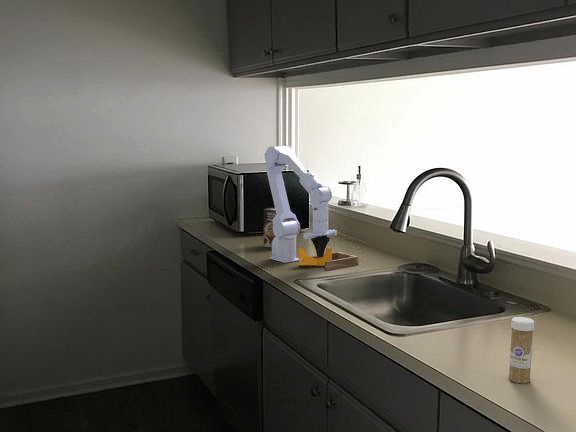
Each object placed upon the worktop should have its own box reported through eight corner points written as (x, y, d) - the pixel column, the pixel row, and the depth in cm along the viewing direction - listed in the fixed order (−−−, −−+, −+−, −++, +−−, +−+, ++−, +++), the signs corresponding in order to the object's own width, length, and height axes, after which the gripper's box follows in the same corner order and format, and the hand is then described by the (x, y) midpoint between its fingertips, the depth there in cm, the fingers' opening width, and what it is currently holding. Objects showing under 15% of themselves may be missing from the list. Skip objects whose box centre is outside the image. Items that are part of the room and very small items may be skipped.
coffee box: (263, 246, 287) (262, 209, 285) (271, 244, 293) (271, 207, 290) (280, 249, 282) (280, 210, 280) (289, 246, 288) (289, 209, 285)
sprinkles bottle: (507, 382, 143) (511, 321, 141) (508, 374, 147) (511, 315, 145) (530, 385, 141) (534, 323, 139) (531, 377, 145) (534, 317, 143)
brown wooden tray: (307, 264, 253) (307, 256, 253) (338, 259, 263) (338, 251, 262) (327, 270, 244) (327, 262, 244) (358, 264, 254) (358, 256, 253)
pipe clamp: (299, 264, 247) (299, 247, 248) (299, 266, 251) (299, 248, 253) (332, 265, 247) (331, 247, 248) (331, 266, 251) (331, 249, 253)
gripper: (312, 223, 239) (311, 260, 241) (342, 219, 248) (342, 255, 250) (299, 220, 244) (299, 257, 246) (329, 217, 253) (329, 252, 255)
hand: (320, 256), depth 248 cm, fingers closed, pressing on pipe clamp
